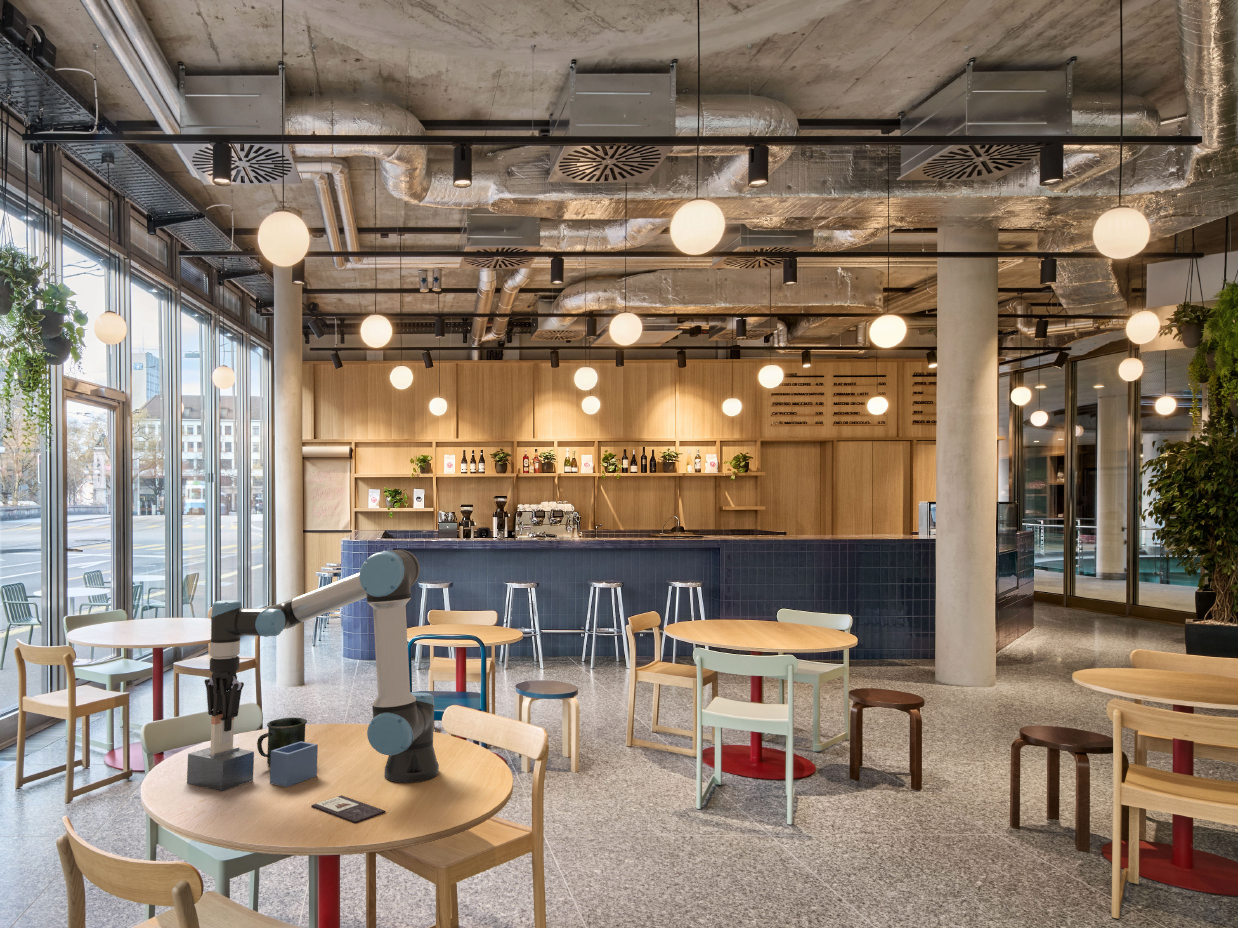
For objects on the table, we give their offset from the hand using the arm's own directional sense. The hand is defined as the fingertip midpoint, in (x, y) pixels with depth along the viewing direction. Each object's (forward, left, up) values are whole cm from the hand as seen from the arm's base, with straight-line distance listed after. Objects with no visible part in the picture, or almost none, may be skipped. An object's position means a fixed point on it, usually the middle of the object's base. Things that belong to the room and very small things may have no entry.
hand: (222, 741), depth 229 cm
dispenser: (0, 0, -11) cm, 11 cm away
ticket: (0, 0, -8) cm, 8 cm away
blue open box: (-16, -11, -11) cm, 22 cm away
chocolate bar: (-46, -1, -12) cm, 47 cm away
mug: (-2, -19, -11) cm, 22 cm away
